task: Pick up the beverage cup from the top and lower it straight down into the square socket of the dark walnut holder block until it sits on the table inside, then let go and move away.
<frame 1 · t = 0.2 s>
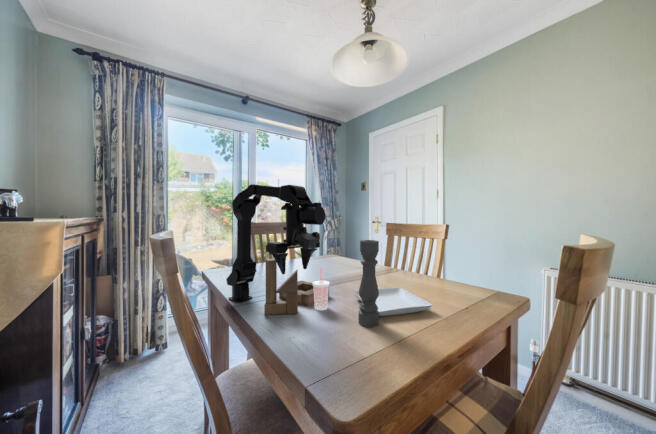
hand: (294, 271, 80), 14 cm above the table, tool pointing down, fingers open, 9 cm apart
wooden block: (281, 313, 83), on the table
salad plate: (389, 307, 89), on the table
beverage cup: (321, 308, 87), on the table
candle holder: (368, 323, 75), on the table
holder block: (304, 297, 98), on the table
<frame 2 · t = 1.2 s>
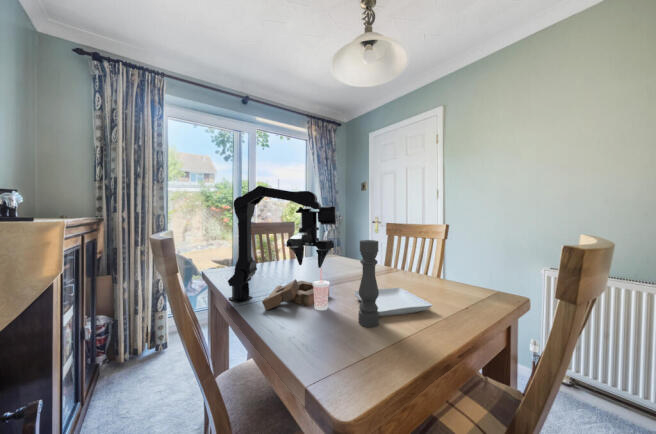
hand: (309, 266, 92), 13 cm above the table, tool pointing down, fingers open, 9 cm apart
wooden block: (277, 300, 84), point 4 cm above the table, touching holder block
everything else where it was.
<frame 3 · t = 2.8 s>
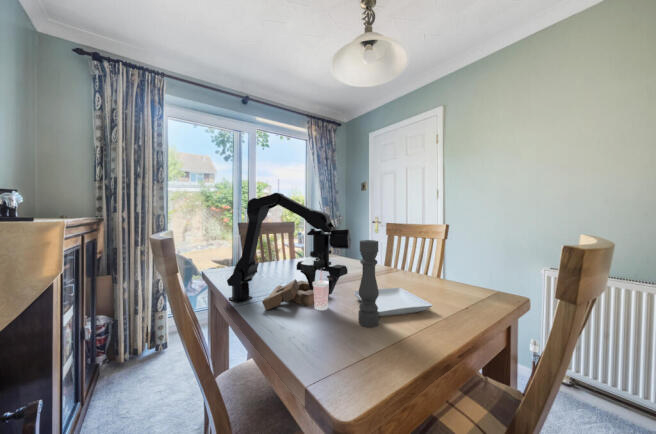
hand: (321, 292, 87), 6 cm above the table, tool pointing down, fingers closed on beverage cup, 8 cm apart
beverage cup: (321, 308, 87), on the table, touching gripper
everything else where it was.
when the fingers open (6 cm above the table, at t = 8.0 s): beverage cup stays where it is, resting in holder block.
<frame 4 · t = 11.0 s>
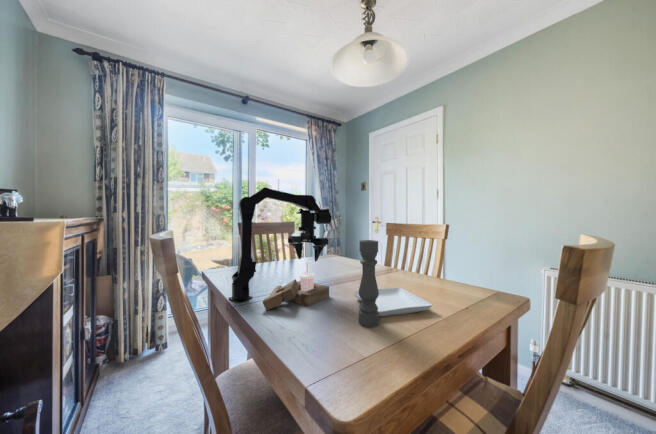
hand: (307, 260, 107), 13 cm above the table, tool pointing down, fingers open, 9 cm apart
beverage cup: (307, 297, 98), resting in holder block
everything else where it was.
at the end: beverage cup 1.1 cm off-centre on the holder block, point 0.0 cm above the holder block's base; beverage cup tilted 0°; the gripper is holding nothing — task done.
